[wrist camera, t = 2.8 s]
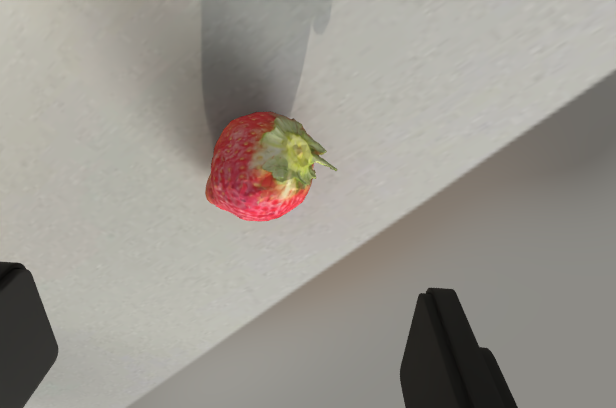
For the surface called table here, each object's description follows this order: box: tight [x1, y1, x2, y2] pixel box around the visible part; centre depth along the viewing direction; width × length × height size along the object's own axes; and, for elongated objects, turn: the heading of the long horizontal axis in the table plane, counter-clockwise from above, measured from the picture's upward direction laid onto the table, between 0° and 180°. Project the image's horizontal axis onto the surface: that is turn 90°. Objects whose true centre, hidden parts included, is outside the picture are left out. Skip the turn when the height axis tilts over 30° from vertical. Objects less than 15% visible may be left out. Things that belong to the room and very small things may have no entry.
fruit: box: [205, 112, 337, 221], centre depth 16 cm, size 4×6×5 cm
